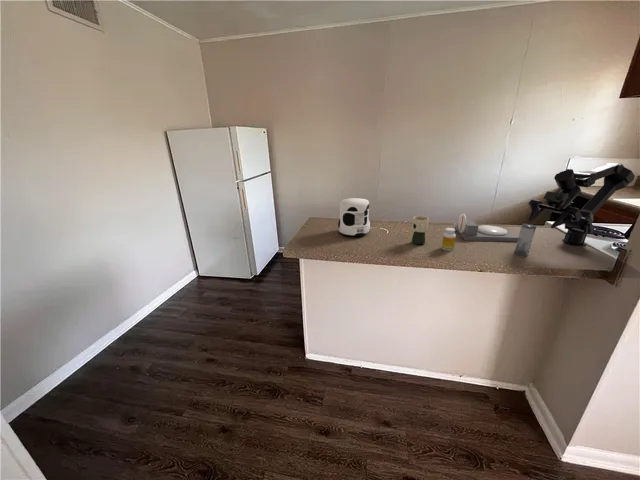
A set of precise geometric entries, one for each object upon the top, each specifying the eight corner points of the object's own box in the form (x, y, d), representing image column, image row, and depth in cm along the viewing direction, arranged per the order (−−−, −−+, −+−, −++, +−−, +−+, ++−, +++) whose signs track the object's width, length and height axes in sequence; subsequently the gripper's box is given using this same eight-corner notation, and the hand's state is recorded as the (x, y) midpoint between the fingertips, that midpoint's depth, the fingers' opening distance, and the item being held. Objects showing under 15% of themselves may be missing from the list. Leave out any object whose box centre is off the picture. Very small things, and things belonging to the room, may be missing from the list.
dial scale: (501, 229, 148) (505, 210, 144) (518, 241, 132) (523, 220, 128) (453, 228, 152) (456, 209, 148) (464, 240, 136) (468, 219, 132)
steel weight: (524, 251, 121) (531, 224, 116) (530, 256, 116) (538, 227, 112) (512, 251, 122) (519, 223, 117) (518, 255, 117) (525, 227, 112)
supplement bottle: (454, 251, 123) (458, 231, 120) (442, 250, 124) (445, 230, 121) (452, 246, 128) (455, 227, 125) (439, 246, 129) (442, 227, 126)
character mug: (409, 238, 139) (411, 214, 134) (424, 239, 138) (427, 214, 133) (411, 247, 129) (414, 221, 124) (427, 247, 128) (431, 221, 123)
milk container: (348, 226, 161) (348, 196, 154) (375, 231, 151) (376, 199, 144) (332, 235, 148) (331, 202, 141) (360, 241, 138) (361, 206, 131)
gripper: (536, 181, 120) (512, 207, 121) (587, 188, 103) (558, 219, 104) (544, 197, 125) (521, 222, 126) (593, 206, 109) (566, 235, 109)
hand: (539, 224), depth 116 cm, fingers open, 9 cm apart
